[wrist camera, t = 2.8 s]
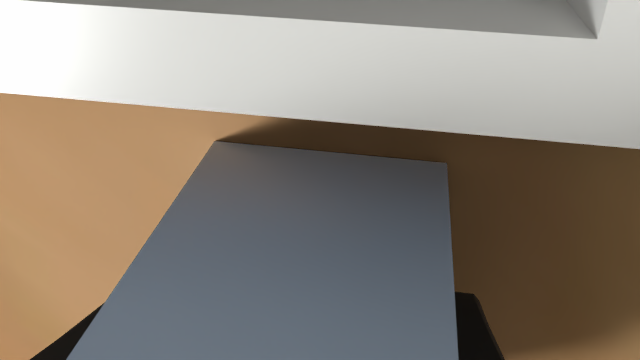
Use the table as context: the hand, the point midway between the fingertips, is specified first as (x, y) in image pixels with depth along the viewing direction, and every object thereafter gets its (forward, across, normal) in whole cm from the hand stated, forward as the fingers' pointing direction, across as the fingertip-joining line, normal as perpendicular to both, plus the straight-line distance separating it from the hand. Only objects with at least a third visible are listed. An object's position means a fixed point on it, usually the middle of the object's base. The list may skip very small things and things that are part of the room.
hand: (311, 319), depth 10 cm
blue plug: (+1, 0, 0) cm, 1 cm away
